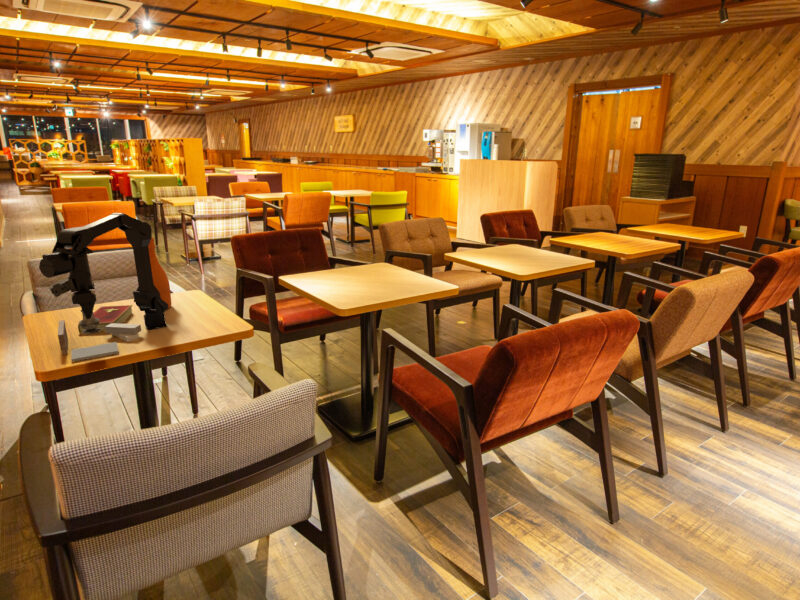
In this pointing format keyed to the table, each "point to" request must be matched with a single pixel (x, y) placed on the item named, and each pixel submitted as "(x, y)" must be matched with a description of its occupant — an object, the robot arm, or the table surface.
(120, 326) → the top offcut
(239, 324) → the table surface
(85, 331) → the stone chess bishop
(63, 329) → the long thin taupe batten
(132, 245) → the robot arm
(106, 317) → the hardcover book
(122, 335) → the bottom offcut
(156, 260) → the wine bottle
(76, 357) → the slate mat
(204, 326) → the table surface
